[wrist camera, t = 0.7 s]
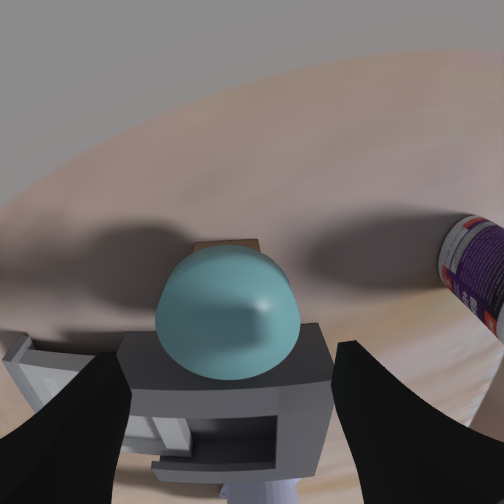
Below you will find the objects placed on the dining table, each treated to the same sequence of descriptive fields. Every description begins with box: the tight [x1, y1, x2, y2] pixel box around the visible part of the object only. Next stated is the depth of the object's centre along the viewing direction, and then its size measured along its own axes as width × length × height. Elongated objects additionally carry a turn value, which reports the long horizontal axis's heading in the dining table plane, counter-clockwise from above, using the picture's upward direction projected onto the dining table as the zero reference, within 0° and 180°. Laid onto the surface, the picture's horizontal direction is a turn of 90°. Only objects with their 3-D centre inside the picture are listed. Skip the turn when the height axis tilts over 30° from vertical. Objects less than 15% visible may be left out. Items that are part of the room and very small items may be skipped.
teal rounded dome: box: [155, 245, 300, 380], centre depth 12 cm, size 6×6×2 cm
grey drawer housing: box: [116, 323, 334, 484], centre depth 18 cm, size 12×12×5 cm
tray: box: [2, 335, 193, 457], centre depth 18 cm, size 11×12×3 cm
